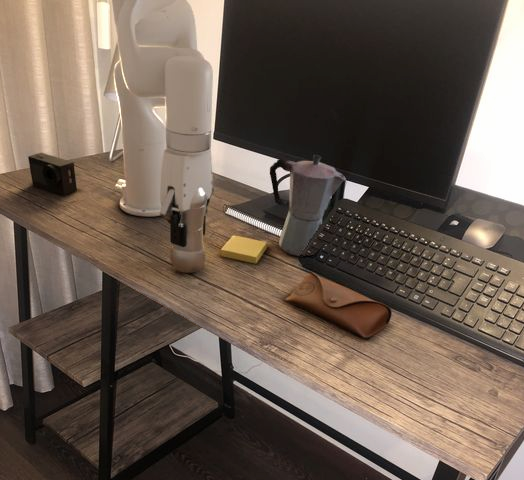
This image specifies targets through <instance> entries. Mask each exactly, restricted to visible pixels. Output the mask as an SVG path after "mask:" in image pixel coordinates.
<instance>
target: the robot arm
mask: <svg viewBox="0 0 524 480" xmlns="http://www.w3.org/2000/svg"><path fill="white" fill-rule="evenodd" d="M111 3H112V4H111V5H112V12H113V20H114V27H115V31H116V42H117V49H118V55H119V60H118V61H117V62H116V63H115V65H114V67H113V82H114V89H115V92H116V97H117V102H118V107H119V108H118V109H119V115H120V124H121V138H122V139H121V140H122V153H123V154H122V155H123V170H124V171H123V172H124V179H118V180H117V181H116V184H115V185H114V188H113V189H114V191H116V192H120V193H122V197H121V198H120V199H119V208H120V209H121V210H122V211H123V212H125V213H127V214H129V215H132V216H137V217H159V216H162V217H163V218H164V219H165V220H166V221H167V223H168V225H169V238H170V239H169V241H170V243H171V244H175V245H178V246H181V247H185V246H186V226H184V222H185V217H186V211H187V210H189V209H190V205H191V201H192V198H193V196H194V194H195V193H196V191H197V190H198V189H199V188H204V189H205V190H206V193H207V203H206V209H205V214H204V224H203V237H204V236H205V235H206V220H207V219H206V217H207V216H206V215H207V214H208V211H209V210H208V207H209V204H210V203H211V202H210V201H211V198H212V196H213V194H214V191H215V190H214V186H213V159H212V158H213V157H212V151H211V150H212V116H213V115H212V114H213V113H212V111H213V110H212V109H213V83H214V82H213V80H214V79H213V78H214V77H213V76H214V74H213V73H214V72H213V70H214V69H213V67H212V64H211V63H210V62H209V61H208V60H207V59H205V57H204V55H203V54H202V52H201V51H199V49H198V41H197V40H198V39H197V27H196V20H195V15H194V11H193V9H192V6H191V4H190V3H189V2H188V0H111ZM156 108H165V122H164V121H163V120H162V119H161V117H160V116H159V115H158V114H157V113H156V112H155V109H156ZM174 203H176V204H177V205H178V208H177V207H174ZM175 211H177V212H180V216H179V218H178V217H177V216H176V215H175Z"/></svg>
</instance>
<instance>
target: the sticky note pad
mask: <svg viewBox="0 0 524 480" xmlns="http://www.w3.org/2000/svg"><path fill="white" fill-rule="evenodd" d="M267 249H268V242H267V241H262V240H259V239H254V238H248V237H244V236H239V235H232V236H231V238H229V240H228V241H227V242H226V243H225V244H224V246H223V247H222V248H221V249H220V257H224V258H228V259H233V260H237V261H242V262H246V263H251V264H255V265H256V264H257V263H258V262H259V260H260V258H262V256H263V254H264V253H265V251H266V250H267Z"/></svg>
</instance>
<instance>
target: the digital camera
mask: <svg viewBox="0 0 524 480" xmlns="http://www.w3.org/2000/svg"><path fill="white" fill-rule="evenodd" d="M27 158H28V164H29V165H28V166H29V170H30V177H31V182H32V185H33V186H35V187H38V188H42V189H44V190H47V191H50V192H52V193H53V192H54V193H56V194H59V195H63V196H65V195H68V194H71V193H73V192H77V191H78V188H77V180H76V171H75V170H76V169H75V163H74V161H71V160H67V159H65V158H61V157H58V156H54V155H52V154H48V153H44V152H38V153H35V154H32V155H28V156H27Z"/></svg>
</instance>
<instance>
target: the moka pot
mask: <svg viewBox="0 0 524 480" xmlns="http://www.w3.org/2000/svg"><path fill="white" fill-rule="evenodd" d="M321 159H322V156H321V155H319V154H313V157H312V161H311V160H300V161H297V162H295V161H293V160H286V159H284V158H282V157H280V158H279V159H277V160H276V162H274V163H273V164H271V166H270V167H269V177H270V180H271V185H272V190H273V191H272V192H273V197H274V198H273V199H274V203H275V204H277V205H280V206H284V207H285V206H286V205H287V202H286V200H283V199H281V198H280V193H279V183H278V176H277V169H280V168H281V169H283V170H284V171H285V172H289V177H290V178H289V192H288V193H289V194H288V195H289V196H288V200H289V203H288V212H287V215H286V218H285V221H284V225H283V227H282V230H281V233H280V236H279V240H278V245H279V247H280V248H281V250H282V251H284V252H286V253H287V254H289V255H293V256H297V257H301V256H300V255H301V252H302V251H303V249H304V248H305V247H306V246H307V244H308V242H309V240H310V239H311V238H312V237H313V235H314V234H315V233H316V231H317V230H318V228H319V227H320V225H321V224H322V225H323V217H324V214H325V211H326V210H327V209H328V207H329V203H330V200H331V198H332V196H333V195H334V194H335V193H336V191H337V190H338V189H339V187H340V186H341V185H342V183H343V182H346V180H347V179H346V177H345V175H344V174H343V173H341V172H339V171H337V169H336V168H335V167H334V166H331V165H329V164H326V163H323V162H321Z"/></svg>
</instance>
